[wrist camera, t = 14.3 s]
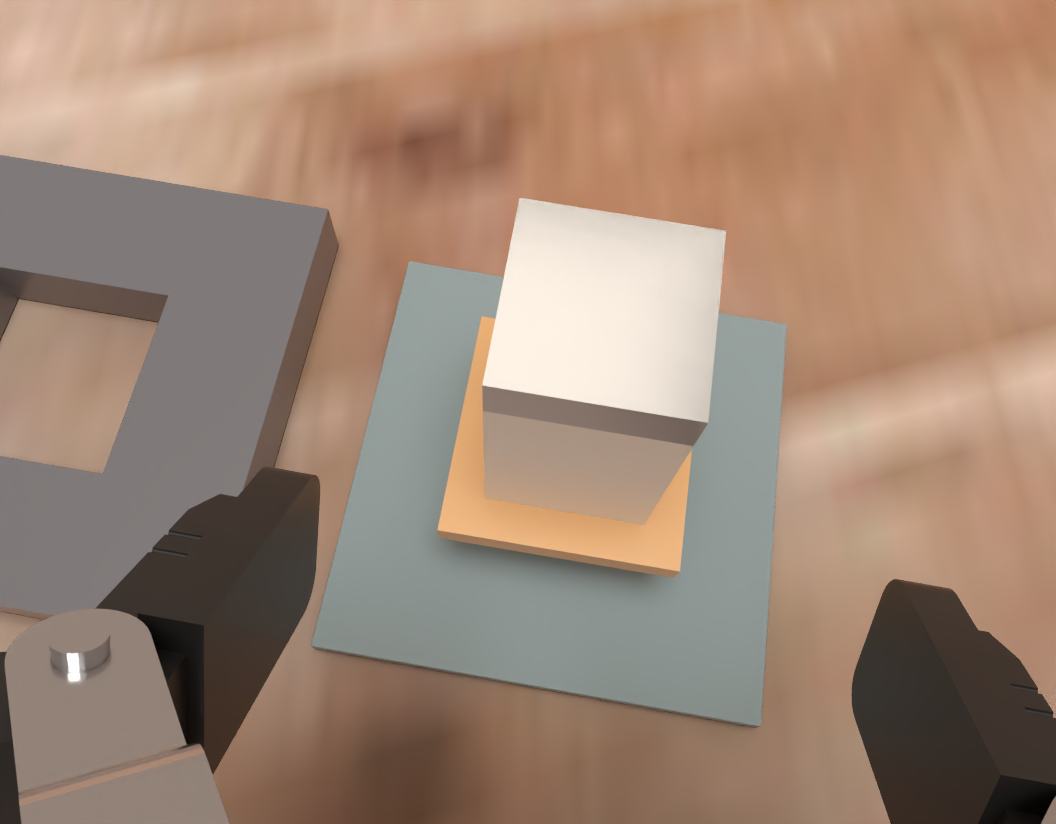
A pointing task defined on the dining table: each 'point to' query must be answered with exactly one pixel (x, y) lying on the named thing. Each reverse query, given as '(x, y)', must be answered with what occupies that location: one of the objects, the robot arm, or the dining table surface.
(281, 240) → the socket box
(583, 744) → the dining table surface
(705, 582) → the mat
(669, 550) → the plug
